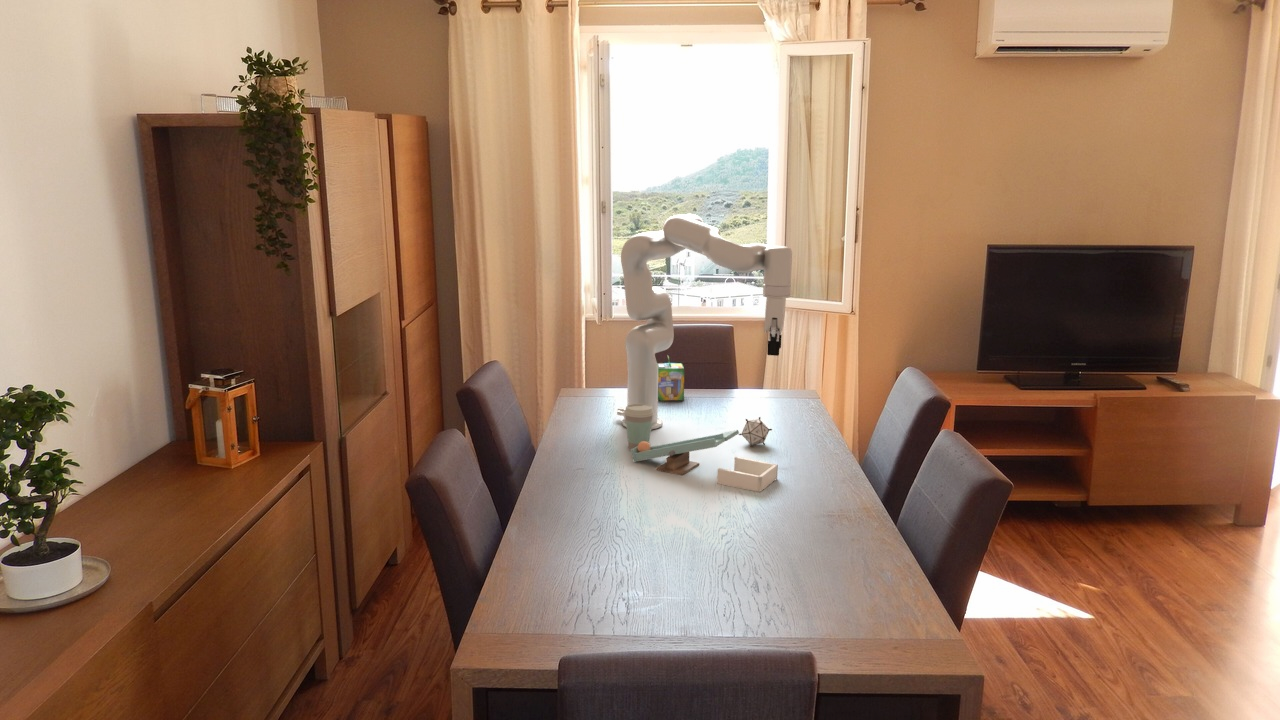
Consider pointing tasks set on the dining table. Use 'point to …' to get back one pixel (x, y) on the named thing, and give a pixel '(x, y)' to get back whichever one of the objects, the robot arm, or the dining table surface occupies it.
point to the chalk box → (670, 381)
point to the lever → (683, 446)
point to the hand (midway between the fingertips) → (774, 351)
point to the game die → (755, 432)
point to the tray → (748, 474)
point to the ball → (643, 446)
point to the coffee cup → (638, 423)
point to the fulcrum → (678, 464)
